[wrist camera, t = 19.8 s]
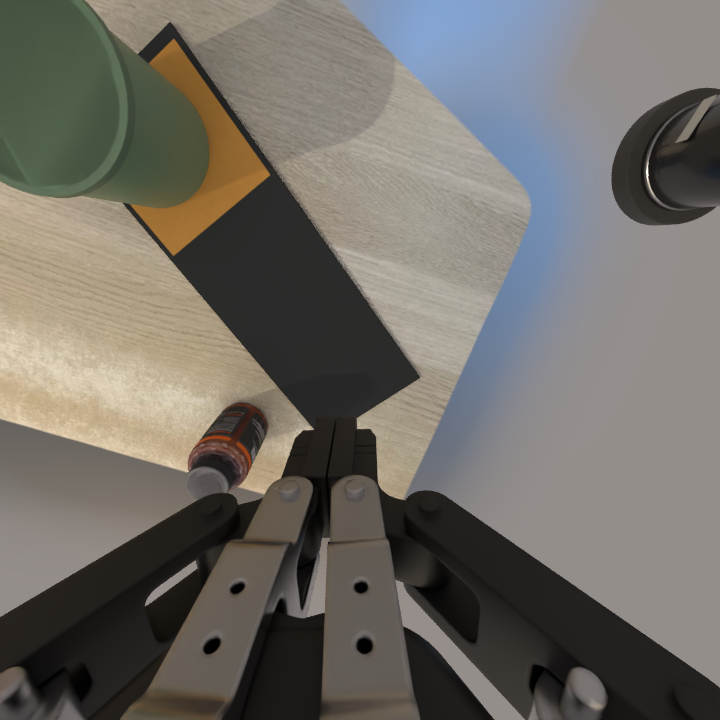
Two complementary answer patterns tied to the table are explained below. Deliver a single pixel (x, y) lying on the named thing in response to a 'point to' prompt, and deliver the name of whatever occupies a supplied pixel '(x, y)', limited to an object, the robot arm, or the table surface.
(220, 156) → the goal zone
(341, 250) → the table surface
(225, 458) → the supplement bottle
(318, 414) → the runner
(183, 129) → the bucket
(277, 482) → the robot arm
